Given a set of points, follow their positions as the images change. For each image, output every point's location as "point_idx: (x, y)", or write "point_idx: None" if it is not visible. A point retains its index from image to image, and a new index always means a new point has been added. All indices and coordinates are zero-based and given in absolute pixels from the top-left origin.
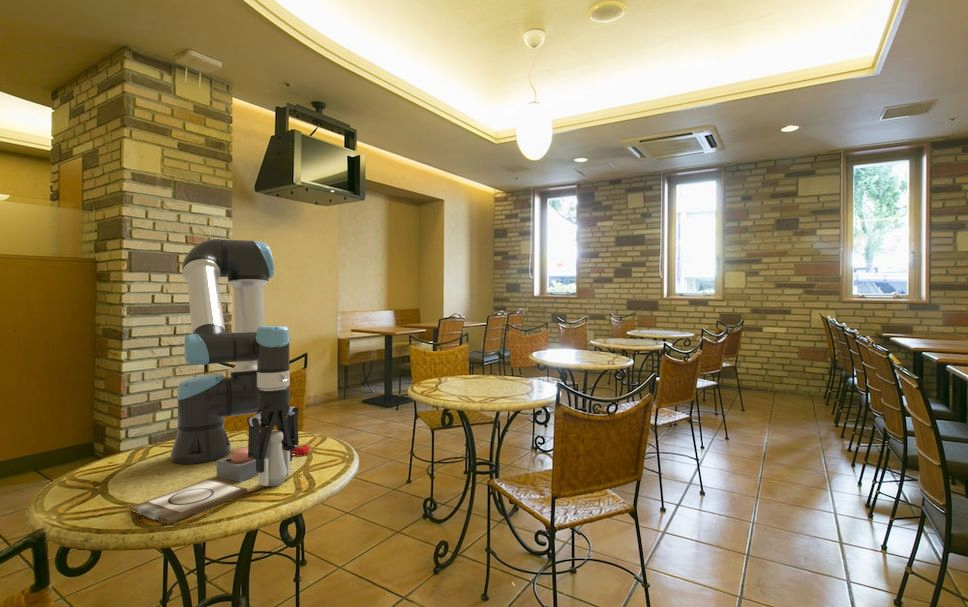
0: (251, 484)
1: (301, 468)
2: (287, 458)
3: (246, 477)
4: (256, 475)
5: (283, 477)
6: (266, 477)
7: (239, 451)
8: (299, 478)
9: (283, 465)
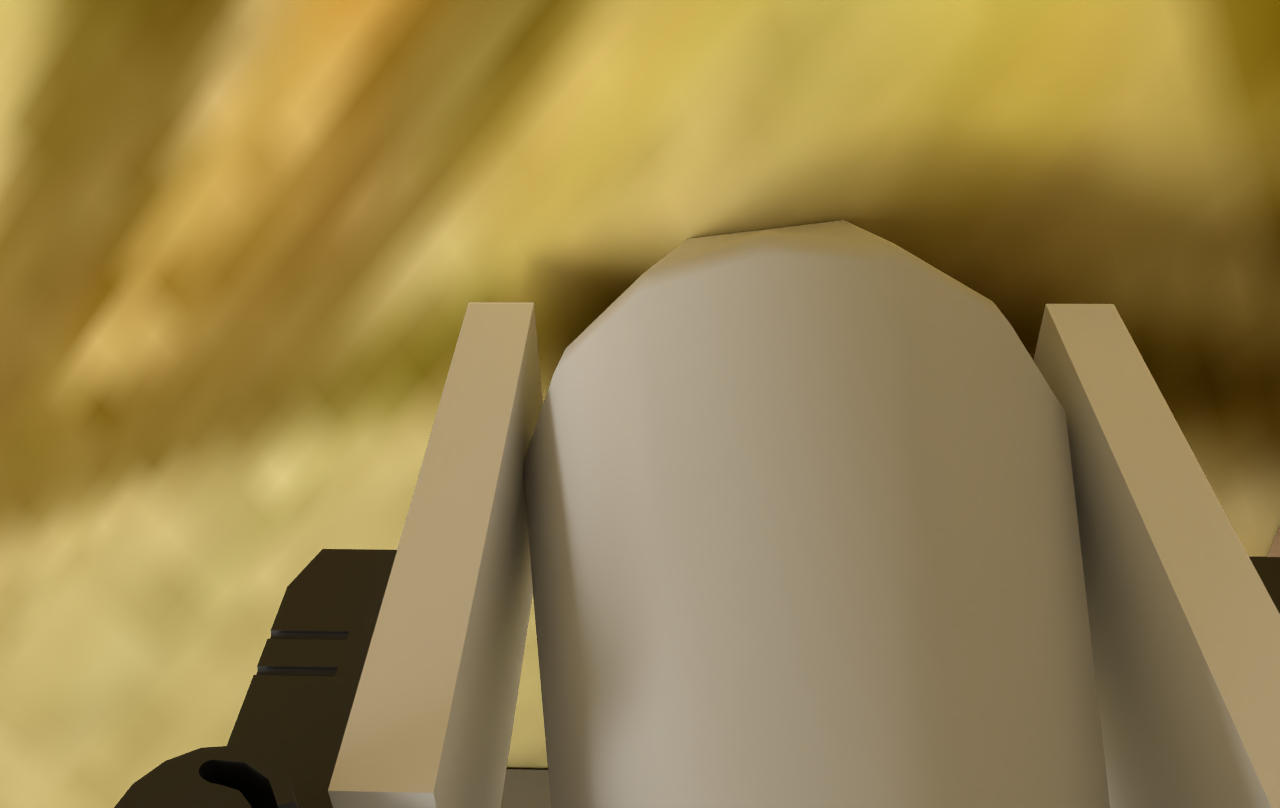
0: None
1: (20, 486)
2: (469, 616)
3: None
4: None
5: (765, 237)
6: (1155, 414)
7: None
8: (333, 141)
9: (731, 446)
